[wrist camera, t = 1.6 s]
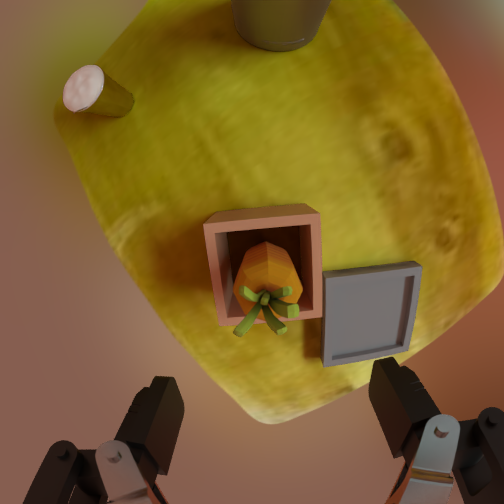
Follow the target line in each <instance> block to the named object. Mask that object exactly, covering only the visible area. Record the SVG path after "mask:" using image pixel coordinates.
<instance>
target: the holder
mask: <svg viewBox="0 0 504 504" xmlns="http://www.w3.org/2000/svg"><path fill="white" fill-rule="evenodd" d="M295 225H299V233H300V251H301V271H302V280H300V283H301V285H302V287H303V291H302V293H301V295H300V297H299V299H298V301H297V303H296V304H298V306H299V316H298V317H295V318H285V317H281V318H278V319H279V320H280V321H291V320H301V319H310V318H318V317H322V245H321V222H320V213H319V212H317V211H316V210H314V209H313V208H311V207H310V206H308V205H307V204H293V205H281V206H269V207H258V208H248V209H238V210H229V211H220V212H216V213H215V214H214V215H212V216H211V217H210V218H209V219H208V220H207V221H206V222H205V223H204V224H203V227H204V234H205V241H206V248H207V255H208V261H209V268H210V274H211V280H212V286H213V292H214V298H215V304H216V310H217V315H218V321H219V326H228V325H238V324H239V323H240V322H241V321H242V320H243V319H244V318H245V316H246V315H245V314H244V312H243V310H242V308H241V306H240V304H239V302H238V300H237V298H236V296H235V294H234V292H233V286H234V284H233V277H232V269H231V262H230V254H229V246H228V238H227V232H231V231H241V230H251V229H262V228H273V227H284V226H295ZM258 323H267V322H266V321H263V320H260V319H257V318H256V319H255V321H254V323H253V324H258Z"/></svg>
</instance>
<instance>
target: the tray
mask: <svg viewBox="0 0 504 504" xmlns="http://www.w3.org/2000/svg"><path fill="white" fill-rule="evenodd" d="M421 274H422V266H421V265H420V264H418V263H417V262H415V261H409V262H401V263H393V264H385V265H377V266H369V267H360V268H351V269H342V270H333V271H324V272H322V331H321V361H322V364H323V367H329V366H336V365H342V364H348V363H354V362H359V361H364V360H369V359H374V358H379V357H383V356H388V355H392V354H396V353H401V352H405V351H408V349H409V345H410V340H411V335H412V331H413V326H414V321H415V315H416V309H417V303H418V297H419V290H420V282H421Z"/></svg>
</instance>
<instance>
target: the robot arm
mask: <svg viewBox="0 0 504 504" xmlns="http://www.w3.org/2000/svg"><path fill="white" fill-rule="evenodd" d="M330 2H331V0H231V4H232V10H233V16H234V22H235V26H236V29H237V31H238V33H239V34H240V35H241V37H242V38H244V39H245V40H246V41H247V42H249V43H250V44H252V45H254V46H256V47H259V48H262V49H265V50H270V51H290V50H294V49H298V48H301V47H303V46H305V45H306V44H308V43H309V42H310V41H311V40H312V39H313V38H314V36H315V35H316V33H317V31H318V28H319V26H320V24H321V22H322V19H323V17H324V15H325V13H326V11H327V9H328V6H329V4H330ZM369 398H370V401H371V403H372V406H373V408H374V411H375V413H376V415H377V418H378V420H379V422H380V425H381V427H382V430H383V432H384V435H385V437H386V440H387V442H388V445H389V447H390V450H391V453H392V455H393V458H398V457H400V456H403V457H404V459H405V462H404V464H403V466H402V468H401V471H400V473H399V475H398V478H397V480H396V482H395V484H394V486H393V489H392V491H391V493H390V495H389V497H388V499H387V500H386V503H385V504H447V502H448V499H449V496H450V493H451V490H452V486H453V482H454V479H453V477H450V473H451V470H452V472H453V474H454V477H455V479H456V482H457V484H458V487H459V490H460V493H461V495H462V498H463V501H464V504H504V412H503V411H501V410H500V409H498V408H495V407H489V408H486V409H484V410H483V411H482V412H481V413H480V414H479V416H478V418H477V419H472V420H466V421H457V420H456V419H455V418H454V417H452V416H449V415H444V414H443V415H442V414H441V413H440V411H439V409H438V408H437V406H436V405H435V403H434V401H433V400H432V398H431V397H430V395H429V394H428V392H427V391H426V389H424V386H423V385H422V383H421V382H420V380H419V378H418V377H417V375H416V374H415V372H413V371H412V370H410V369H409V368H408V367H406V366H402V367H400V366H399V365H398V363H397V362H396V360H395V359H394V358H393V357H388V358H384V359H379V360H375V361H374V363H373V368H372V374H371V379H370V383H369ZM183 416H184V402H183V400H182V397H181V394H180V391H179V389H178V386H177V383H176V380H175V379H174V377H164V376H155V377H154V379H153V381H152V383H151V385H150V387H144V388H143V389H142V390H141V391H140V392H138V393H137V394H136V396H135V398H134V400H133V402H132V405H131V406H130V408H129V410H128V413H127V414H126V416H125V418H124V420H123V422H122V424H121V426H120V428H119V430H118V432H117V434H116V437H115V439H114V440H112V441H107V442H105V443H103V444H102V445H100V446H99V447H98V449H96V450H78V449H77V448H76V446H75V445H74V444H73V443H71V442H69V441H64V440H62V441H58V442H56V443H54V444H53V445H52V446H51V447H50V449H49V451H48V453H47V455H46V456H45V458H44V460H43V462H42V464H41V466H40V468H39V470H38V472H37V474H36V476H35V478H34V480H33V482H32V484H31V486H30V489H29V491H28V493H27V495H26V497H25V500H24V502H23V504H68V501H69V499H70V501H69V504H169V503H168V501H167V500H166V498H165V496H164V495H163V493H162V491H161V490H160V488H159V486H158V484H157V483H156V481H155V480H156V477H157V474H160V475H167V473H168V470H169V466H170V463H171V459H172V455H173V452H174V448H175V444H176V441H177V437H178V434H179V430H180V427H181V423H182V420H183ZM74 486H75V488H74ZM73 488H74V490H73ZM72 491H73V493H72ZM71 493H72V496H71ZM70 496H71V498H70ZM108 497H109V502H107V500H108Z"/></svg>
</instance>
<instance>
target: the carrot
mask: <svg viewBox="0 0 504 504" xmlns="http://www.w3.org/2000/svg"><path fill="white" fill-rule="evenodd" d="M302 291H303V287H302V285H301V283H300V280H299V278H298V275H297V273H296V270H295V268H294V265H293V263H292V261H291V259H290V257H289V255H288V253H287V251H286V250H284V249H283V248H281V247H279V246H277V245H274V244H271V243H269V242H266V241H265V242H262V243H260V244H257V245H255V246H253V247H251V248H250V249H248V250H247V251H246V253H245V256H244V258H243V261H242V263H241V266H240V268H239V271H238V274H237V276H236V279H235V283H234V286H233V292H234V294H235V296H236V298H237V300H238V302H239V304H240V306H241V308H242V310H243V312H244V314H245V315H246V316H245V318H244V319H243V320H242V321H241V322H240V323H239V324H238V326H237V327H236V328H235V329H234V331H233V333H234V334H235V335H236V336H239V337H242V336H243V335H244V334H245V333H246V332H247V331H248V330H249V329H250V327H251V326H252V324H253V323H254V321H255V319H256V318H257V319H260V320H263V321H266V322H267V324H268V326H269V327H270V328H271V329H272V330H273V331H274V332H275V333H276V334H277V335H281V334H284V333H285V332H286V331H287V327H286V326H285V325H284V324H283V323H282V322H281V321H280V320H279V319H278V318H281V317H285V318H295V317H298V316H299V306H298V304H296V303H297V301H298V299H299V297H300V295H301V293H302Z"/></svg>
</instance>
